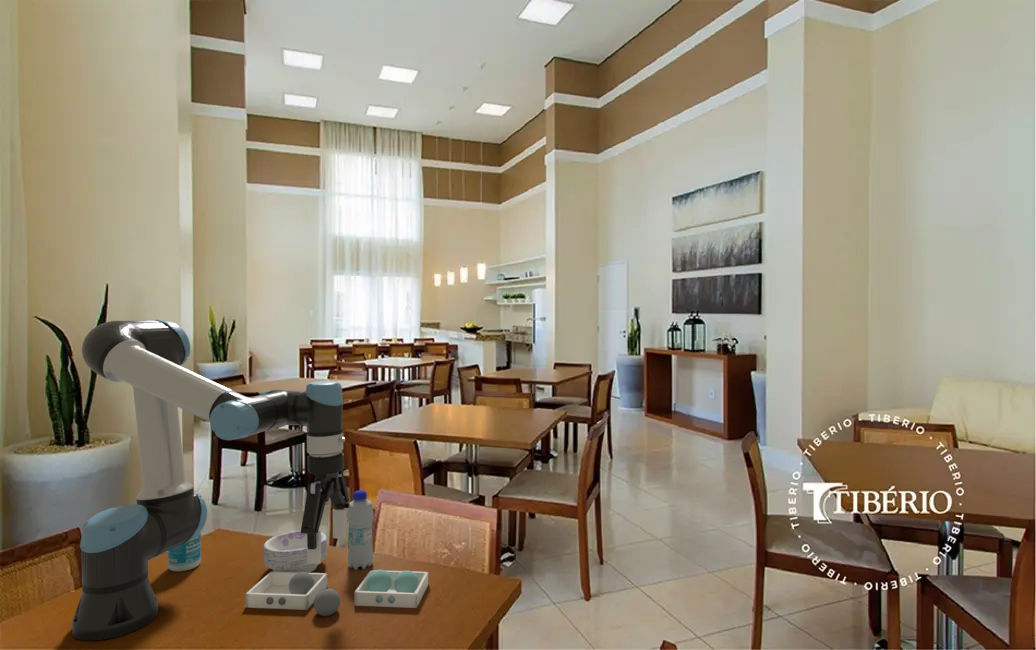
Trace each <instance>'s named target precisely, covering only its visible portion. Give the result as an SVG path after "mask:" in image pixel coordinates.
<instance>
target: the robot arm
mask: <svg viewBox="0 0 1036 650" xmlns="http://www.w3.org/2000/svg"><path fill="white" fill-rule="evenodd" d="M81 354H82V358H83V360H84V362H85V364H86V365H87V366H88V367H89V368H90V370H91V371H92V372H94V373H96V374H97V375H98V376H100V377H103V378H104V379H107V380H109V381H111V382H114V383H123V382H124V383H127V384H129V385H130V386H131V387H132V391H133V401H134V409H135V410H134V411H135V419H136V430H137V438H138V440H137V441H138V451H139V458H140V459H139V460H140V470H141V481H142V489H141V490H140V492H138V494H137V495H136V498H135V499H136V504H135V503H131V504H130V503H129V504H123V505H119V506H117V507H111V508H106V510H102V511H100V512H98V513H96V514H94V515H92V516H91V517H90V518H89V519H87V521H85V523H84V524H83V526H82V528H81V535H80V536H81V539H80V542H79V548H80V551H81V552H80V554H81V596H80V598H79V601H78V604H77V607H76V609H75V614H74V616H73V619H72V623H71V631H72V632H71V634H72V636H73V637H74V638H75V639H77V640H79V641H81V640H82V641H87V642H88V641H91V642H93V641H104V640H109V639H113V638H117V637H121V636H124V635H128V634H130V633H132V632H134V631H137V630H139V629H141V628H143V627H145V626H146V625H148V624H149V623H151V622H152V621H153V620H155V618H156V617H157V615H158V614H159V601H158V598H157V596H156V595H155V594H154V590H153V588H152V585H151V583H150V580H149V561H150V560H151V559H154V558H156V557H158V556H160V555H162V554H164V553H166V552H168V550H170V549H172V548H175V547H177V546H181V545H183V544H185V543H186V542H188V541H189V540H190V539H192V538H194V537H195V536H197V535H198V534H199V533H200V531H201V532H202V530H203V529H204V528H205V525H206V523H207V518H208V506H207V503H206V501H205V499H204V498H202V495H201V494H200V493H199V492H198V491H195V490H194V489H195V488H194V485H193V484H192V483H191V482H189V481H188V480H187V479H186V474H185V465H184V454H183V444H182V436H181V435H182V434H181V427H180V415H179V409H180V410H183V411H185V412H188V413H189V414H192V415H194V416H195V417H198V418H200V419H202V420H204V421H206V422H208V423H209V425H210V428H211V430H212V432H214V433H215V436H216V437H217V438H219V439H220V440H224V441H232V440H233V441H234V440H238V439H239V440H241V439H245V438H248V437H251V436H253V435H256V434H259V433H263V432H265V431H266V432H267V431H269V430H274V429H276V428H279V427H283V426H306V453H307V454H309V455H308V456H307V457H306V458H307V472H308V473H309V474H311V475H314V482H308V483H307V486H306V499H305V504H304V509H303V515H302V516H303V517H302V522H301V529H300V531H301V533H306V534H307V564H318V565H321V563H322V561H321V532H322V531H321V530H320V526H321V522H322V518H323V515H324V511H325V506H326V503H327V502H329V500H330V502H331V503H332V506H333V507H334V508H333V509H332V538H333V539H345V538H346V536H347V532H346V530H347V529H346V527H347V526H346V522H347V520H346V509H348V508H349V506H350V504H349V503H350V496H349V494H348V493H349V492H348V489H347V485H346V479H345V476H344V468H345V461H344V460H345V458H344V457H345V455H344V453H343V450H344V443H345V442H346V438H345V437H344V428H343V427H344V425H343V423H344V422H343V421H344V413H343V411H344V409H343V407H344V398H343V388H342V384H341V383H339V382H338V381H331V380H329V381H328V380H327V381H320V380H319V381H314V382H313V381H312V382H309V383H307V384H306V387H305V390H283V389H282V390H281V389H273V390H263V391H261V392H260V393H259V394H258V395H255V396H246V395H244V394H241V393H238V392H237V391H235V390H233V389H231V388H228V387H226V386H224V385H222V384H220V383H217V382H216V381H213V380H211V379H209V378H207V377H204V376H202V375H200V374H198V373H197V372H194V371H192V370H190V369H188V368H186V367H183V366H182V365H184V364H185V363H186V362H187V360H188V357H189V356H190V354H191V343H190V340H189V337H188V335H187V333H186V331H185V330H184V329H183V328H182V327H180V326H179V324H177V323H175V322H173V321H169V320H159V319H149V320H147V319H146V320H141V319H140V320H110V321H106V322H103V323H101V324H99V325H98V324H97V326H94V328H92V329H91V330H90V331H89V332H88V333H87V334H86V336H85V337H84V339H83V341H82V345H81Z"/></svg>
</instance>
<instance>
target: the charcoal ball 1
mask: <svg viewBox="0 0 1036 650" xmlns="http://www.w3.org/2000/svg"><path fill="white" fill-rule="evenodd" d="M313 586H314V579H313V577H312V576H311V575H310V574H309V573H307V572H299V573H297V574H295V575H294V576H293V577H292V578H291V580H290V582H289V591H290V593H291V594H301V595H306V594H307V593H308V592H309V591H310V589H311V588H312V587H313Z"/></svg>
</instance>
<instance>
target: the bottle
mask: <svg viewBox="0 0 1036 650" xmlns="http://www.w3.org/2000/svg"><path fill="white" fill-rule="evenodd" d="M367 497H368V494H367V491H366V490H363V489H359V490H355V491H354V492H353V499H352V501H349V502H348V503H349V504H350V506H349V508H347V513H346V522H347V525H348V549H347V550H348V552H347V562H348V567H349V568H350V569H352V568H353V569H354V570H355V571H356V570H359V567H360V568H361V569H362V570H365V569H367V567H371V566H372V565H373V560H374V547H373V520H374V513H375V512H374V509H373V502H372V500H369V499H368V498H367Z"/></svg>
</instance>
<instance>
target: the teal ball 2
mask: <svg viewBox="0 0 1036 650" xmlns="http://www.w3.org/2000/svg"><path fill="white" fill-rule="evenodd" d="M401 571H402V572H400V573H399V574H398V575H397V576H396V578H395V582H394V587H395V590H396V592H403V593H414V592H415V591H416V589H417V587H418V578H417V576H416V574H415V573H414V572H412V571H411V570H408V569H407V570H401Z"/></svg>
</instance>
